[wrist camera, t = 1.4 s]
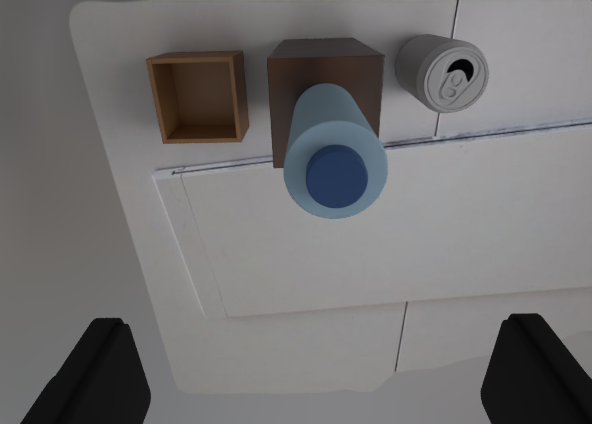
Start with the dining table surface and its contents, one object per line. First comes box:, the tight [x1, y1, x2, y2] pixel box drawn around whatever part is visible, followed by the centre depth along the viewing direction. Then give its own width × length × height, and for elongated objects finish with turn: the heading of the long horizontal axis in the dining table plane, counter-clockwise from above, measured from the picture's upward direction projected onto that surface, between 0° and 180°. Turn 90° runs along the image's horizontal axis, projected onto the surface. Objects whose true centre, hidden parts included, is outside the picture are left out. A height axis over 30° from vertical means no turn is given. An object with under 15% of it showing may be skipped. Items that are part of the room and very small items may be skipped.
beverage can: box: [395, 34, 489, 113], centre depth 39 cm, size 6×6×12 cm
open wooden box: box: [146, 51, 249, 144], centre depth 43 cm, size 9×9×6 cm
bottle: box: [284, 83, 388, 219], centre depth 22 cm, size 5×5×13 cm
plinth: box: [267, 38, 385, 168], centre depth 36 cm, size 8×8×20 cm
